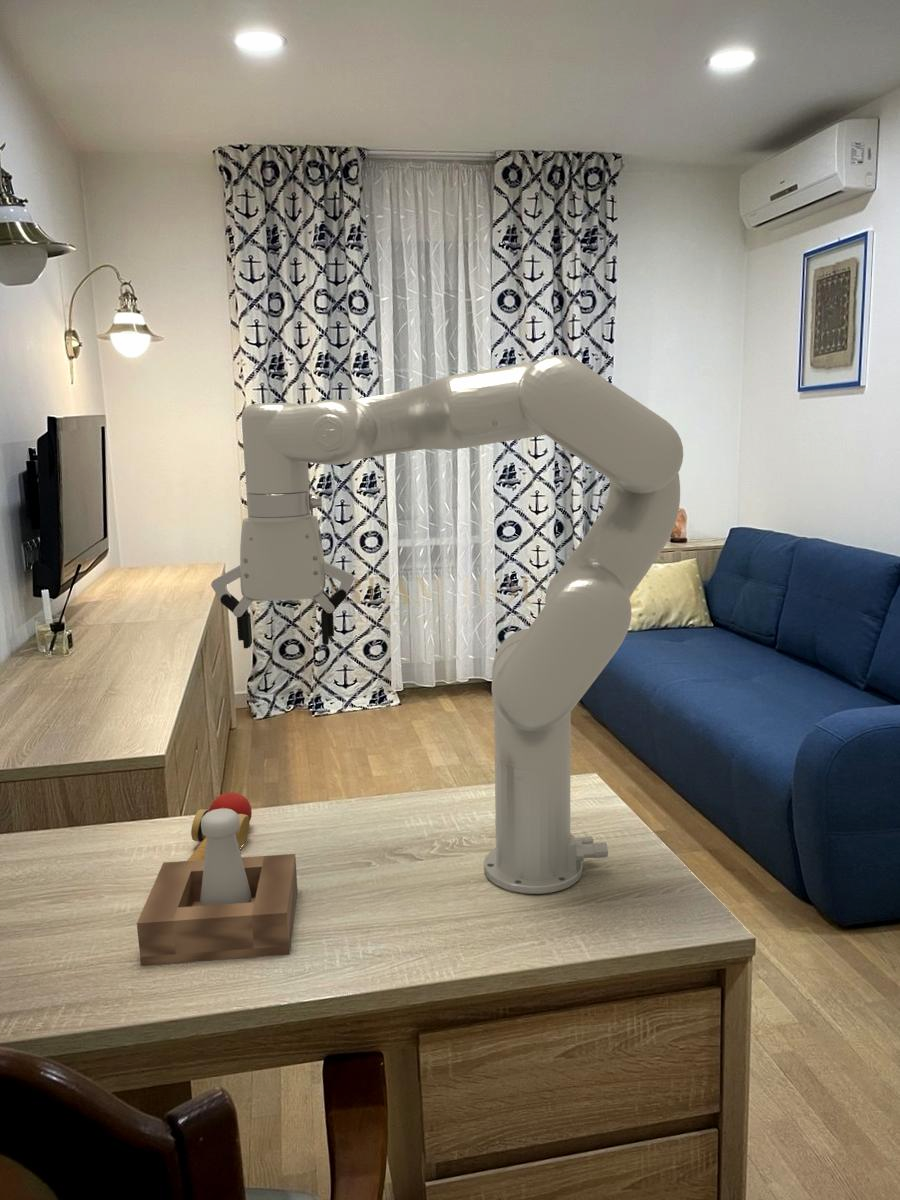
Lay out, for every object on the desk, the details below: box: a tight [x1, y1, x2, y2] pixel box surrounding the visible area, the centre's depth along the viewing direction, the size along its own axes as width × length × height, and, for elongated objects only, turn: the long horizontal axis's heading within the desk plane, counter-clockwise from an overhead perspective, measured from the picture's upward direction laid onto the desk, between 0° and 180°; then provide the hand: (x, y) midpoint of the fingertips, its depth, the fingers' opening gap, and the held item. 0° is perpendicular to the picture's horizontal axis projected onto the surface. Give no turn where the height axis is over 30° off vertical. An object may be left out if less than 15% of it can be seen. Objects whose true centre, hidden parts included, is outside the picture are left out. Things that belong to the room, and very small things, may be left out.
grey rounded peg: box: [200, 808, 251, 906], centre depth 108 cm, size 6×6×13 cm
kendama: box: [186, 791, 252, 861], centre depth 127 cm, size 8×6×18 cm
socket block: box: [136, 853, 298, 966], centre depth 109 cm, size 16×14×5 cm
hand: (287, 644), depth 117 cm, fingers open, 9 cm apart
